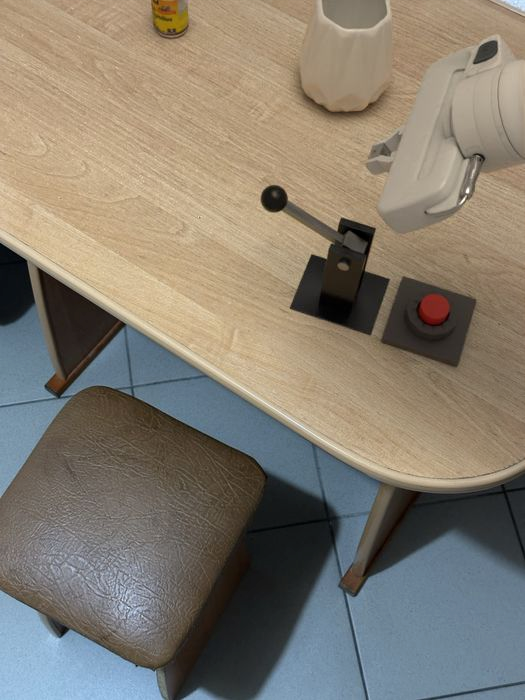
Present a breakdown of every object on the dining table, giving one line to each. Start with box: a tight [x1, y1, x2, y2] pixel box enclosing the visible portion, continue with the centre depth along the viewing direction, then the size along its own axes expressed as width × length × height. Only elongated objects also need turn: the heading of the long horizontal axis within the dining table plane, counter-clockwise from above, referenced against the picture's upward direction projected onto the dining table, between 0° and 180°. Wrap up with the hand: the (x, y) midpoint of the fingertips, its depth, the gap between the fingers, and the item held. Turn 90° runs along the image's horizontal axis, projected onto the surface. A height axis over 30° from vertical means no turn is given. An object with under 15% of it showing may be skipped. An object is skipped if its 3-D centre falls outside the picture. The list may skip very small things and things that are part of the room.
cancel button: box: [418, 294, 450, 325], centre depth 105 cm, size 4×4×2 cm
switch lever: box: [259, 184, 368, 254], centre depth 99 cm, size 14×3×3 cm, turn 70°
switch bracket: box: [289, 217, 390, 336], centre depth 105 cm, size 11×9×14 cm
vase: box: [298, 0, 395, 113], centre depth 121 cm, size 14×14×15 cm
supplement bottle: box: [150, 0, 190, 39], centre depth 128 cm, size 6×6×10 cm
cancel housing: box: [380, 275, 477, 368], centre depth 108 cm, size 10×10×4 cm
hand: (372, 159), depth 85 cm, fingers closed
